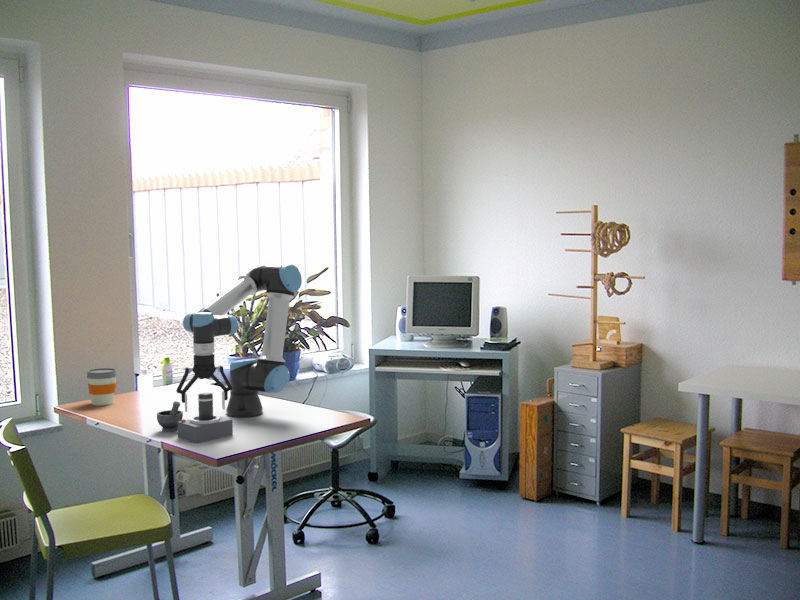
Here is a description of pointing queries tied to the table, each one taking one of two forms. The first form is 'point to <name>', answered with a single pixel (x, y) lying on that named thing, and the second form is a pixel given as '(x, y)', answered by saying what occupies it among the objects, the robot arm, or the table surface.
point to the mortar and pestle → (170, 418)
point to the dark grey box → (204, 429)
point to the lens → (205, 406)
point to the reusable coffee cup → (102, 385)
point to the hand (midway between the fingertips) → (204, 410)
